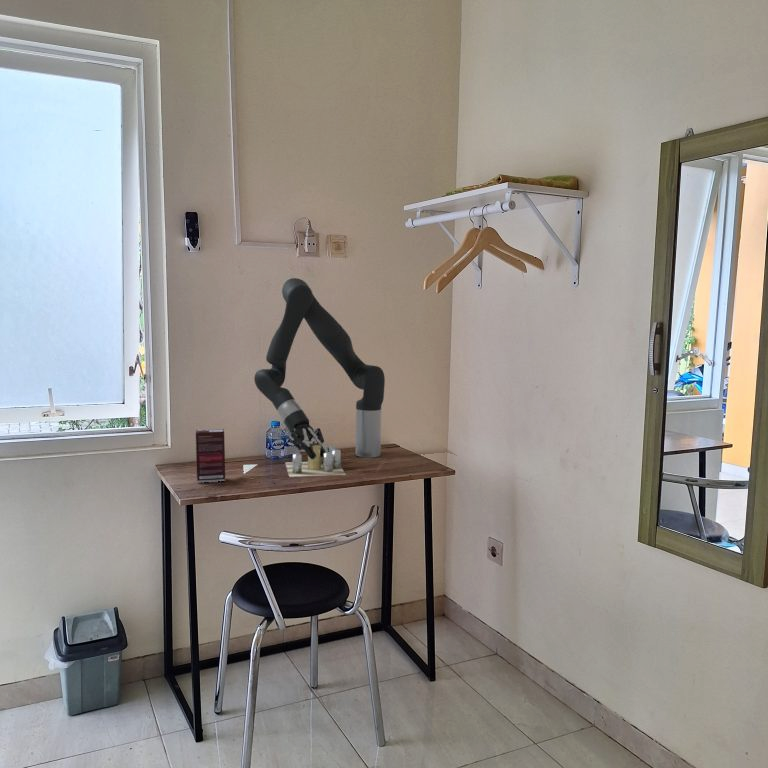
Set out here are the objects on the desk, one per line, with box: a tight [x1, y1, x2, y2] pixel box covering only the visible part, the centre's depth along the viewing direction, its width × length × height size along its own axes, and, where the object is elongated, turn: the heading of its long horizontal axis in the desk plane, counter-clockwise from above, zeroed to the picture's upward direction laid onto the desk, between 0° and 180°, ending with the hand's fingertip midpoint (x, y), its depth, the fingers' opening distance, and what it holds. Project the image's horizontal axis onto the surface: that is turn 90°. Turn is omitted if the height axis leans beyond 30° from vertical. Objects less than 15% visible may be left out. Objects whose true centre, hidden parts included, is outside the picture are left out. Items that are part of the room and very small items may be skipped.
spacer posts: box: [292, 443, 342, 474], centre depth 231 cm, size 16×16×6 cm
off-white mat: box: [242, 463, 259, 475], centre depth 229 cm, size 18×10×1 cm, turn 12°
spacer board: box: [284, 461, 347, 478], centre depth 230 cm, size 20×18×1 cm
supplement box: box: [195, 428, 226, 484], centre depth 215 cm, size 9×5×16 cm, turn 105°
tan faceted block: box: [307, 442, 321, 470], centre depth 230 cm, size 5×4×8 cm
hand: (319, 456), depth 229 cm, fingers closed on tan faceted block, 4 cm apart
